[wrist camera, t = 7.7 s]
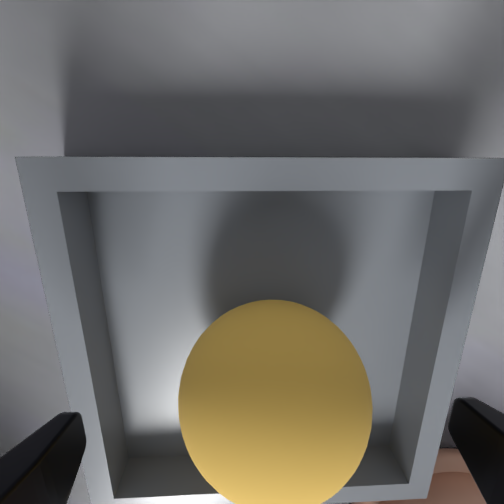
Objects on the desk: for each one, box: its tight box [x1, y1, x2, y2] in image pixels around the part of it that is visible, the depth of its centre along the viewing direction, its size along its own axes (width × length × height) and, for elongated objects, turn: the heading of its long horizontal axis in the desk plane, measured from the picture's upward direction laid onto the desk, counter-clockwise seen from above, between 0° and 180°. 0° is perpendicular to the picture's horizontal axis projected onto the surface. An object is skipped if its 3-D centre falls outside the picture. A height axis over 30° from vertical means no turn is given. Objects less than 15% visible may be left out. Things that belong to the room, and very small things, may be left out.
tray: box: [15, 157, 504, 504], centre depth 10 cm, size 12×12×2 cm
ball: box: [178, 300, 373, 504], centre depth 8 cm, size 5×5×5 cm
